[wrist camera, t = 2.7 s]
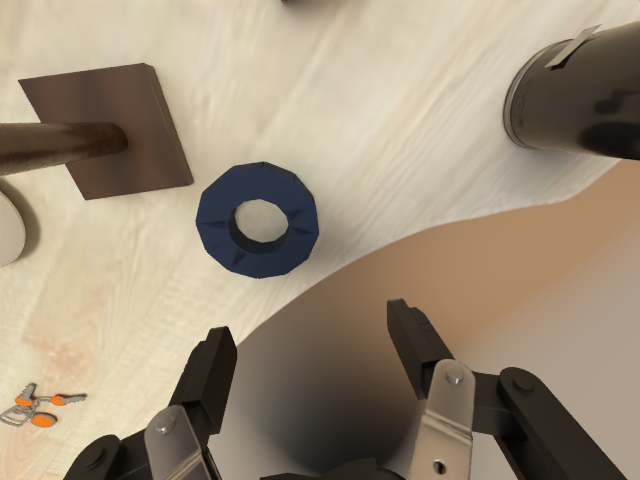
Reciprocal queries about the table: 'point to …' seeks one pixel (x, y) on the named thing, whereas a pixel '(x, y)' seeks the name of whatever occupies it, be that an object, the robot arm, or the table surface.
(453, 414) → the robot arm
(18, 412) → the key chain
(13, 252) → the flower in vase
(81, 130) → the stand
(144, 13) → the table surface
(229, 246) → the ring
